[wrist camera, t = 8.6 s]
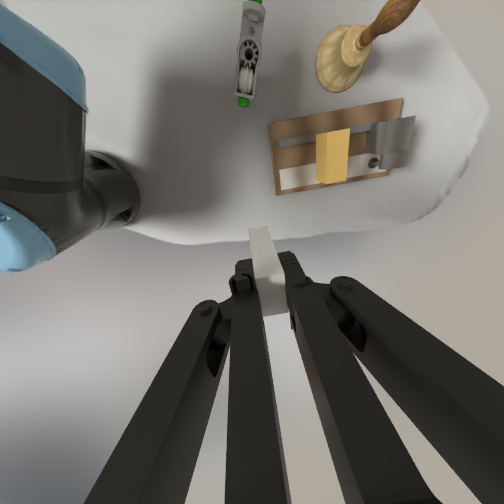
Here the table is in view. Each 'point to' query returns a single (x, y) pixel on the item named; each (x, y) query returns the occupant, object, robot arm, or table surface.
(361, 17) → the table surface
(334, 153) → the block
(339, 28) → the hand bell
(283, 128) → the board
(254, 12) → the mechanical component
